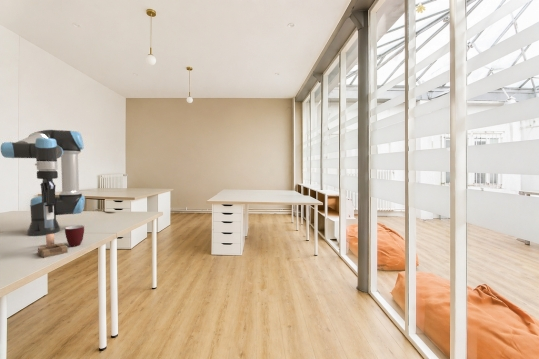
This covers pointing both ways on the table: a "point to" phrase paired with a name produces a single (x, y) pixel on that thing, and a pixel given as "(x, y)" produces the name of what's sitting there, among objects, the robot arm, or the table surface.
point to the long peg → (47, 222)
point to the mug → (74, 235)
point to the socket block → (52, 250)
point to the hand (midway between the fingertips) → (49, 218)
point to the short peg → (49, 239)
